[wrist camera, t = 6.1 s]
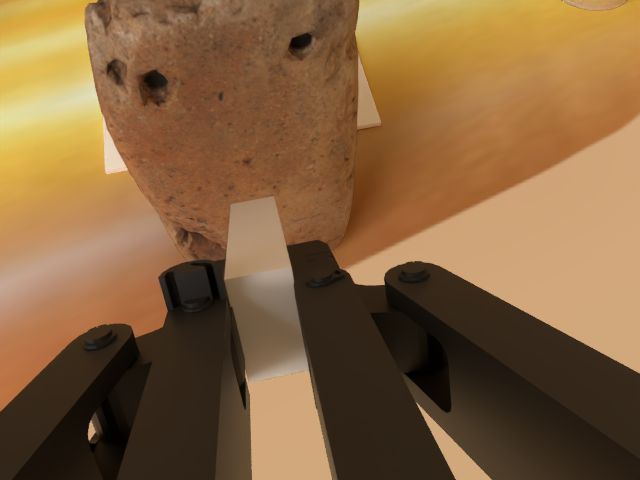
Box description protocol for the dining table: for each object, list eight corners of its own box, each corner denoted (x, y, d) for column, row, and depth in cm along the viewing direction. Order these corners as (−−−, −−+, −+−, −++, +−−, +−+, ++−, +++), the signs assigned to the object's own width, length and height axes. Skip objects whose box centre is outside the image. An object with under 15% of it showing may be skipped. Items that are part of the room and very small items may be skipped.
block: (326, 165, 35) (332, -159, 17) (354, 259, 32) (396, -17, 14) (174, 197, 34) (11, -114, 16) (187, 297, 31) (4, 50, 13)
